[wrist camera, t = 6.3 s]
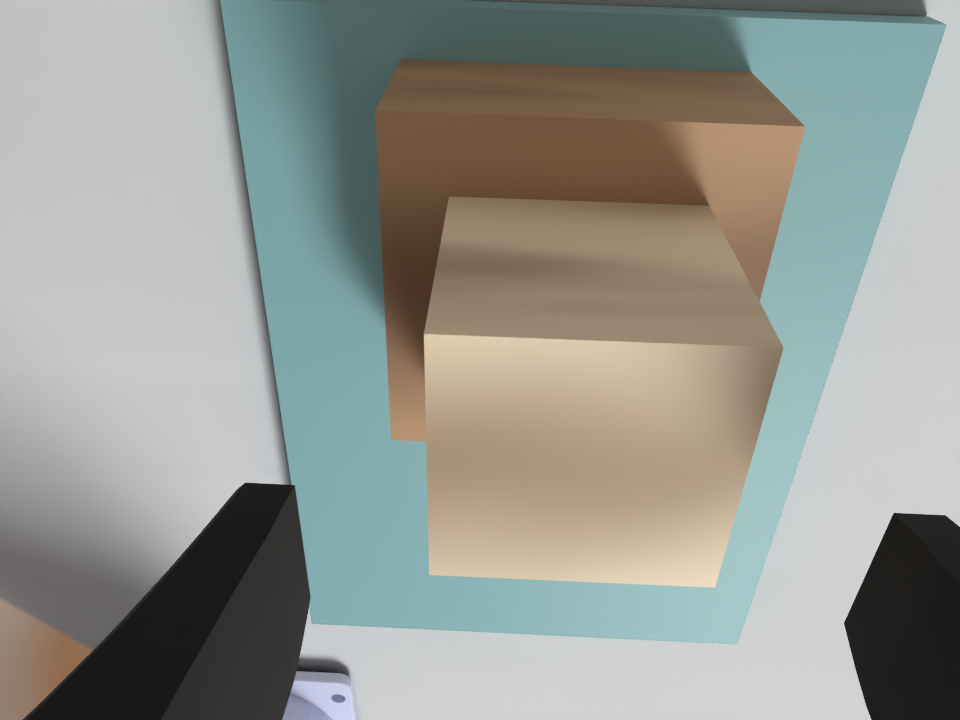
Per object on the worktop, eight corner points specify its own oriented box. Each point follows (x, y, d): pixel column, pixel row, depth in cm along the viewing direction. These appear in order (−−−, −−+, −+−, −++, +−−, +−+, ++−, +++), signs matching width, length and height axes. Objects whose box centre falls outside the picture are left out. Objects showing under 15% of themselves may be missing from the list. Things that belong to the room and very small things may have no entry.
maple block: (668, 411, 16) (714, 587, 12) (448, 402, 16) (429, 574, 12) (709, 205, 13) (783, 347, 10) (448, 196, 14) (424, 333, 10)
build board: (731, 624, 26) (736, 644, 26) (316, 603, 26) (311, 623, 26) (928, 16, 16) (946, 24, 15) (232, -9, 16) (219, -2, 15)
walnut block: (689, 362, 19) (719, 454, 17) (409, 350, 20) (391, 440, 17) (751, 72, 16) (805, 126, 13) (401, 59, 16) (374, 109, 13)
